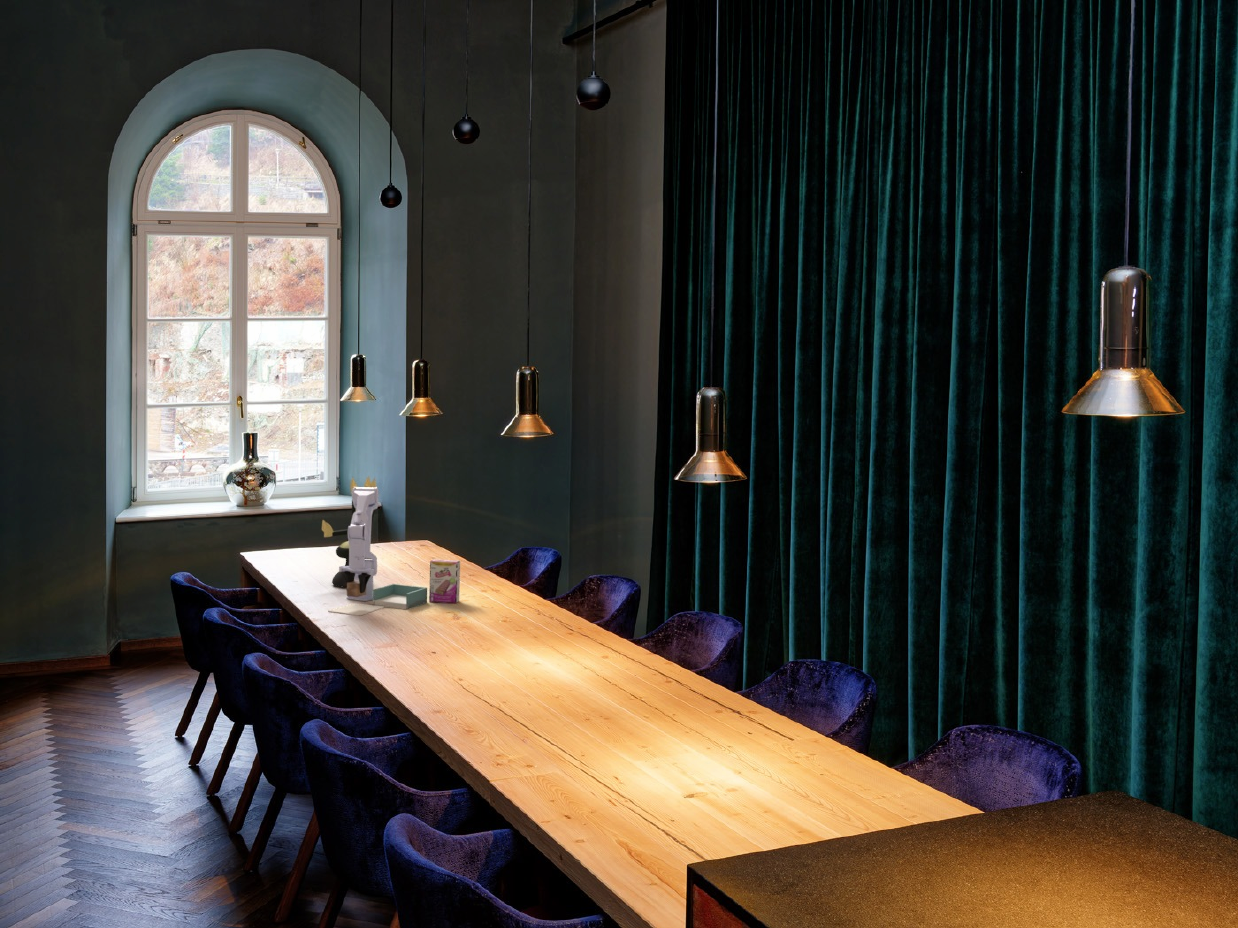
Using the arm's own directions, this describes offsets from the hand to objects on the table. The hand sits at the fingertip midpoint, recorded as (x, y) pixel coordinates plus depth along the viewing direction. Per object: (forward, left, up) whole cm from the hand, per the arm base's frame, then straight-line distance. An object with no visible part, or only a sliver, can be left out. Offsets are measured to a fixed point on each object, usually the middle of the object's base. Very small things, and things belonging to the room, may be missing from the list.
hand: (356, 591), depth 449 cm
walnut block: (0, 0, -1) cm, 1 cm away
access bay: (+8, +17, -7) cm, 20 cm away
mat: (0, 0, -7) cm, 7 cm away
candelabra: (-29, +41, -7) cm, 51 cm away
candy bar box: (+21, +29, -7) cm, 36 cm away
